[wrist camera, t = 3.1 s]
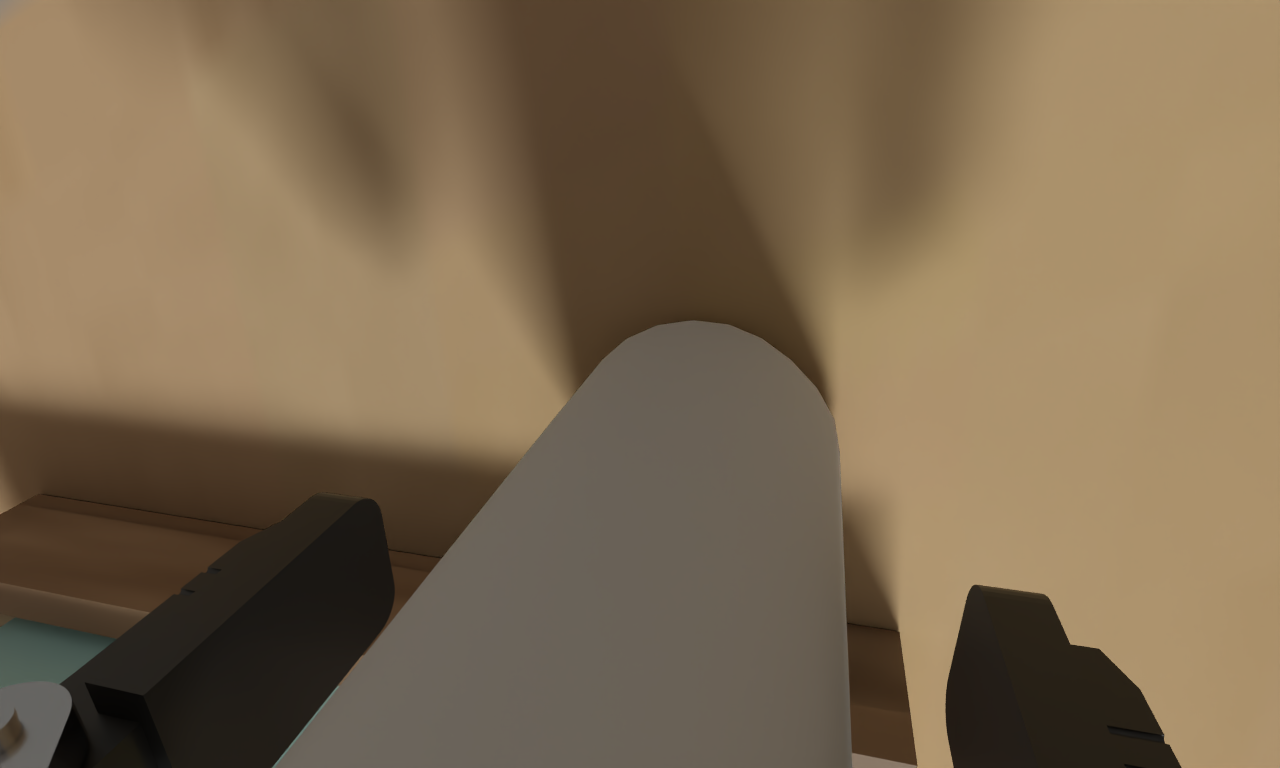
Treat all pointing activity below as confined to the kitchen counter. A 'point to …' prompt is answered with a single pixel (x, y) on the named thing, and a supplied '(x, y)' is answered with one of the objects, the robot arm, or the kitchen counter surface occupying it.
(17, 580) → the bay
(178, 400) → the kitchen counter surface
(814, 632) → the beverage can
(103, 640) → the box
